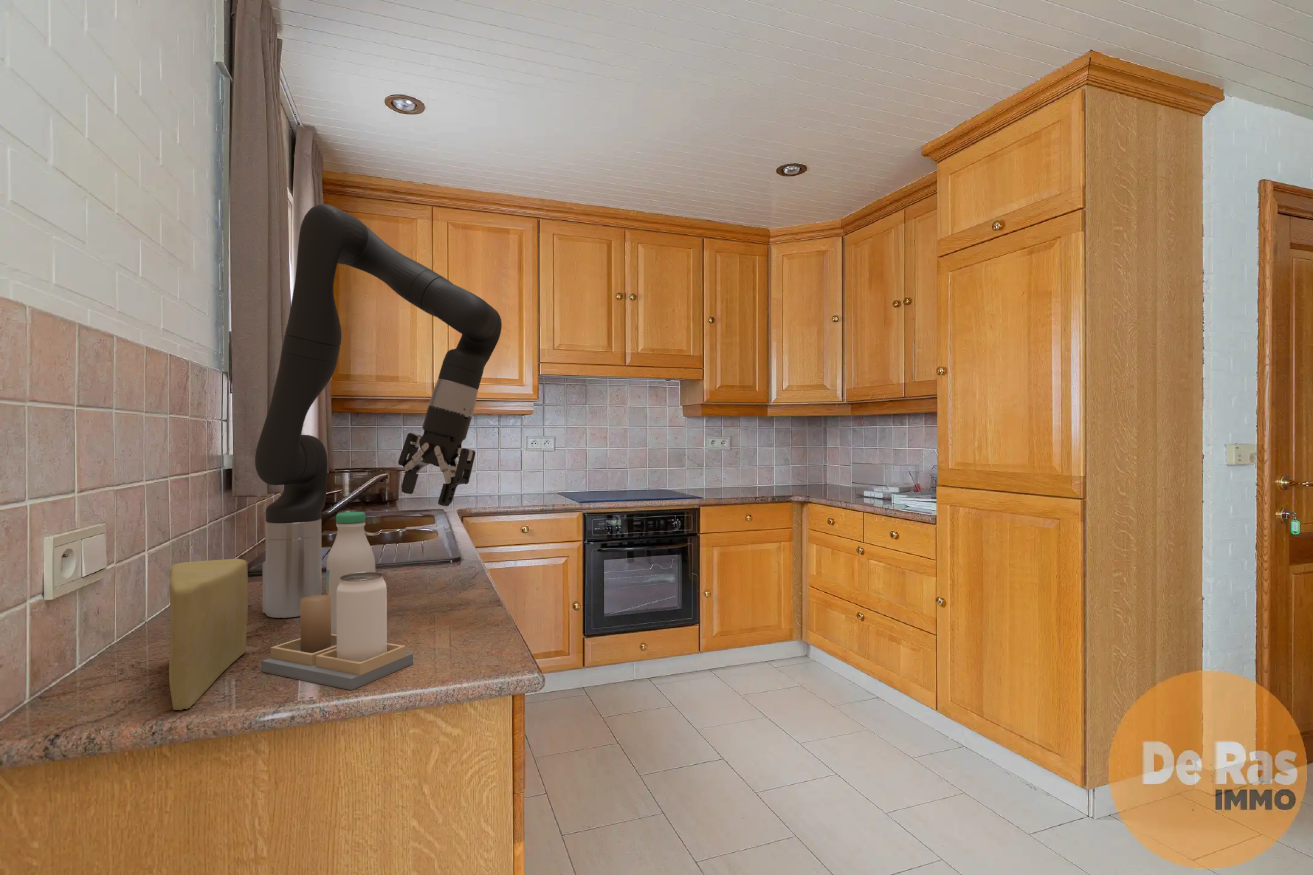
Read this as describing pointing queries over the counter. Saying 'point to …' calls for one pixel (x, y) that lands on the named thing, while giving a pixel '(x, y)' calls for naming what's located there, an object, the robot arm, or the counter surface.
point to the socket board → (328, 653)
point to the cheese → (205, 624)
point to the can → (361, 616)
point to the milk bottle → (347, 556)
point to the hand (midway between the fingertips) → (424, 499)
